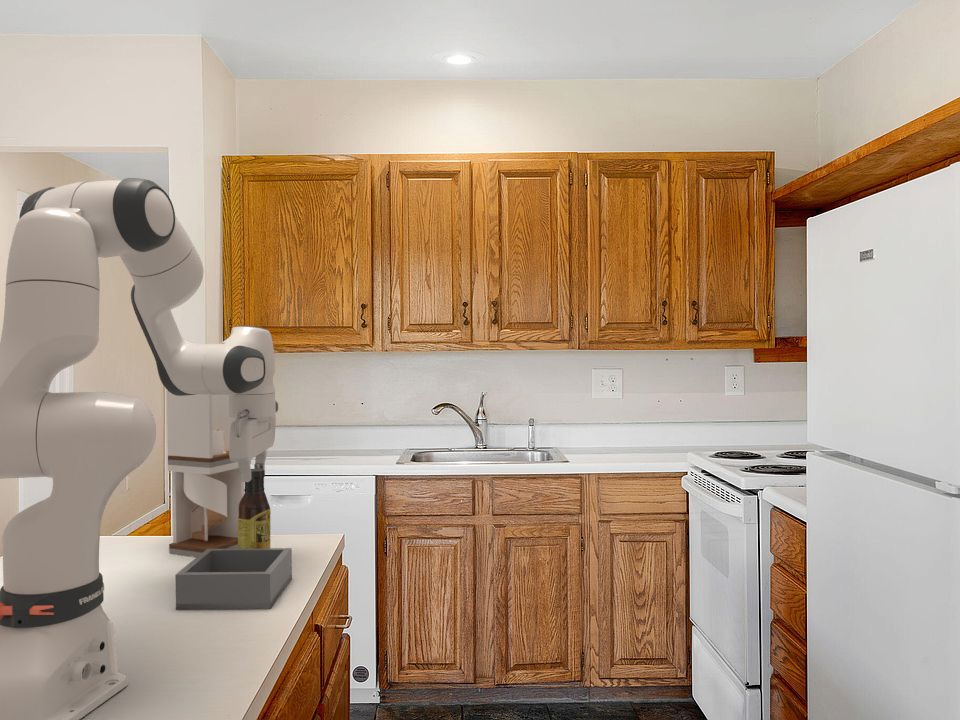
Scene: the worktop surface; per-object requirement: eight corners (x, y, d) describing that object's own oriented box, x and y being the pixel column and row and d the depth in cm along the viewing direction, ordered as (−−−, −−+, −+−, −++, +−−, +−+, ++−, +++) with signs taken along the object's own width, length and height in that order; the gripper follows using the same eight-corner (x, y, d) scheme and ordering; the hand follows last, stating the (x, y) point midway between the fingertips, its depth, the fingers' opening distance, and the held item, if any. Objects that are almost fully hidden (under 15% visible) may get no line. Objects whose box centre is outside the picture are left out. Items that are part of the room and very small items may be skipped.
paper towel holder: (169, 553, 165) (166, 390, 164) (204, 541, 175) (202, 387, 174) (211, 559, 160) (208, 391, 159) (245, 546, 170) (243, 388, 169)
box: (270, 608, 131) (270, 573, 131) (175, 609, 131) (175, 574, 131) (291, 579, 147) (291, 548, 147) (207, 580, 147) (207, 548, 147)
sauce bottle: (261, 574, 150) (260, 473, 149) (231, 572, 151) (230, 472, 151) (276, 564, 156) (275, 467, 156) (248, 563, 158) (247, 466, 157)
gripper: (253, 413, 143) (255, 487, 143) (280, 402, 163) (281, 467, 164) (219, 413, 142) (220, 487, 143) (250, 402, 163) (251, 467, 163)
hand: (253, 476), depth 153 cm, fingers open, 8 cm apart
